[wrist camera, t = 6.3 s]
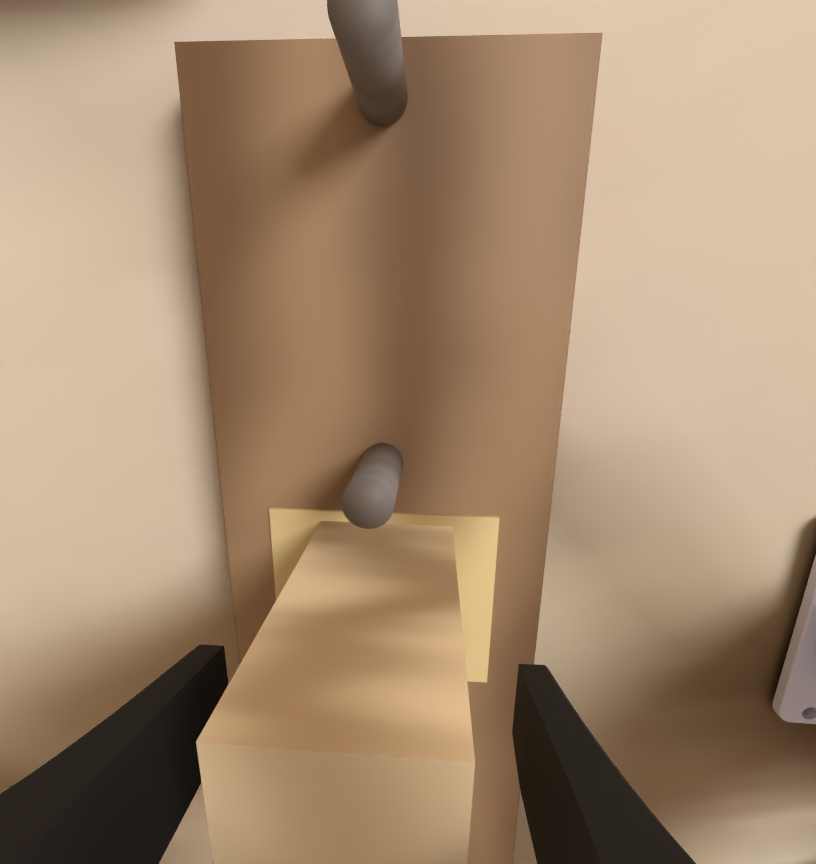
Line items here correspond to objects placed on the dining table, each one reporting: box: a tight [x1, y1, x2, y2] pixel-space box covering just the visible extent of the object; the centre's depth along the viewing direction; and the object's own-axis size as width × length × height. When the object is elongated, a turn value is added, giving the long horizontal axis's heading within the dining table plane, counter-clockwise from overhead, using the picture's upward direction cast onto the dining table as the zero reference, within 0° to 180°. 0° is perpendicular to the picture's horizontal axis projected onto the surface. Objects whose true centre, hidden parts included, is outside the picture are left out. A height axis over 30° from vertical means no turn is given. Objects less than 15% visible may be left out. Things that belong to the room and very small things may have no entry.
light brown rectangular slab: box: [196, 521, 475, 864], centre depth 10 cm, size 4×6×7 cm
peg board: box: [174, 0, 602, 864], centre depth 13 cm, size 10×30×4 cm, turn 179°
